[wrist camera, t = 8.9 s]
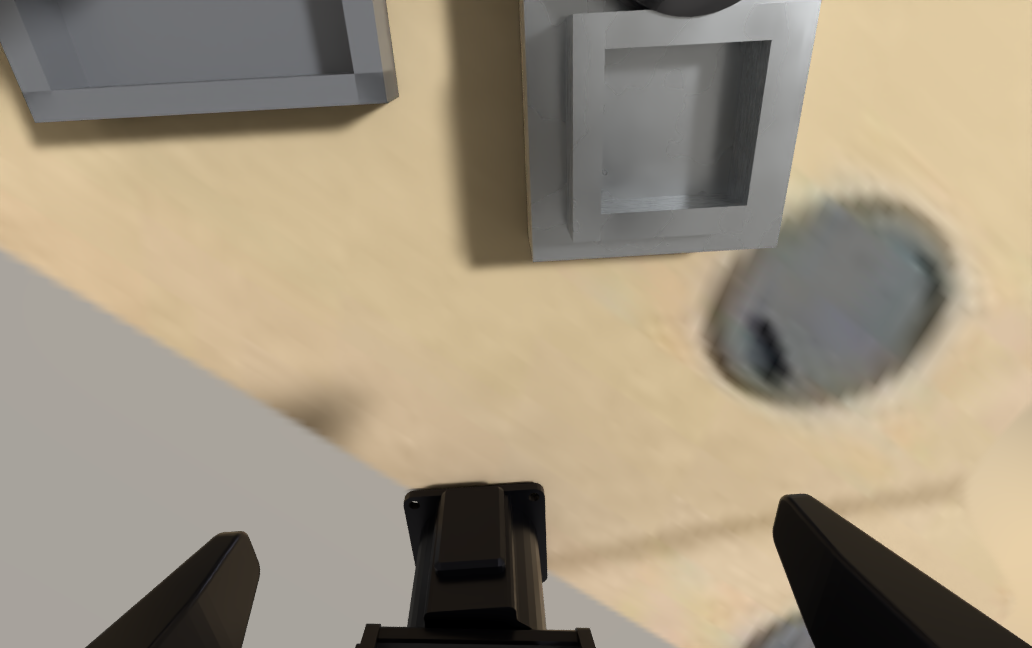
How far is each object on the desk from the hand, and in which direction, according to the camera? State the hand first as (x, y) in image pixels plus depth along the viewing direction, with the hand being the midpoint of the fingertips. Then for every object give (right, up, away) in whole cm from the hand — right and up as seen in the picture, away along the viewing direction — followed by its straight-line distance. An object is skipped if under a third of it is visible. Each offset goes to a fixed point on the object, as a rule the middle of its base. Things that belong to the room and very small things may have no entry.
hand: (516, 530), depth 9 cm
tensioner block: (+4, +12, +8) cm, 15 cm away
